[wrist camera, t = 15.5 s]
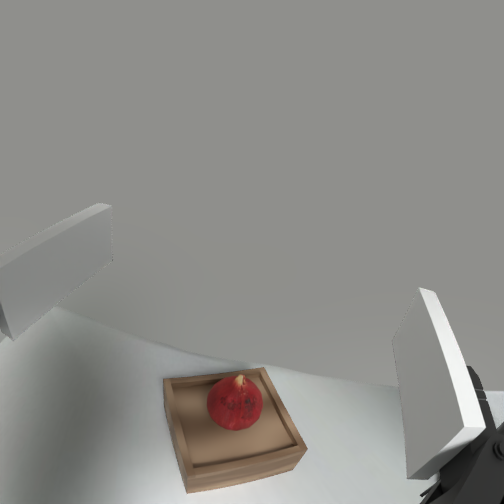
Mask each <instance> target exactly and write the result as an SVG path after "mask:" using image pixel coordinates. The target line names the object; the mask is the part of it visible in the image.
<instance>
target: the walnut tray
mask: <svg viewBox="0 0 504 504" xmlns="http://www.w3.org/2000/svg"><path fill="white" fill-rule="evenodd" d="M239 374H242V375H245V378H248V379H250V380H251V381H252V382H253V383H255V384H256V385H257V387H258V388H259V390H260V391H261V394H262V399H263V408H262V412H261V414H260V417H259V419H258V420H257V421H256V422H255V423H254V424H253V425H252V426H250V427H249V428H246V429H242V430H238V431H233V430H227V429H225V428H223V427H221V426H219V425H218V424H217V423H216V422H215V421H214V420H213V419H212V418H211V417H210V415H209V412H208V409H207V396H208V393H209V392H210V390H211V389H212V387H213V386H214V385H215V384H216V383H217V382H219V381H220V380H222V379H224V378H226V377H231V376H239ZM163 389H164V408H165V412H166V417H167V421H168V426H169V430H170V434H171V438H172V442H173V446H174V450H175V454H176V458H177V461H178V465H179V469H180V472H181V476H182V479H183V482H184V486H185V489H186V492H187V494H188V493H195V492H201V491H207V490H213V489H218V488H223V487H228V486H233V485H238V484H242V483H246V482H251V481H255V480H259V479H263V478H266V477H270V476H274V475H277V474H281V473H284V472H287V471H291V470H293V469H294V467H295V466H296V465H297V463H298V462H299V461H300V459H301V458H302V456H303V455H304V454H305V452H306V451H307V449H308V448H307V447H306V445H305V443H304V441H303V439H302V438H301V436H300V434H299V432H298V430H297V428H296V427H295V425H294V423H293V421H292V419H291V417H290V415H289V414H288V412H287V410H286V408H285V406H284V404H283V402H282V401H281V399H280V397H279V395H278V393H277V391H276V389H275V387H274V385H273V383H272V382H271V380H270V378H269V376H268V374H267V372H266V370H265V368H264V367H262V368H256V369H249V370H242V371H235V372H227V373H219V374H211V375H202V376H192V377H181V378H169V379H163Z"/></svg>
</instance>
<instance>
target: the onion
mask: <svg viewBox="0 0 504 504" xmlns="http://www.w3.org/2000/svg"><path fill="white" fill-rule="evenodd" d="M262 408H263V399H262V394H261V391H260V390H259V388H258V387H257V385H256V384H255V383H253V382H252V381H251V380H250V379H248V378H245V375H242V374H239V376H231V377H226V378H224V379H222V380H220V381H219V382H217V383H216V384H215V385H214V386H213V387H212V389H211V390H210V392H209V393H208V396H207V409H208V412H209V415H210V417H211V418H212V419H213V420H214V421H215V422H216V423H217V424H218V425H219V426H221V427H223V428H225V429H227V430H233V431H238V430H242V429H246V428H249V427H250V426H252V425H253V424H254V423H255V422H256V421H257V420H258V419H259V417H260V414H261V412H262Z"/></svg>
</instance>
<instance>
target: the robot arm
mask: <svg viewBox="0 0 504 504" xmlns="http://www.w3.org/2000/svg"><path fill="white" fill-rule="evenodd" d="M112 255H113V254H112V206H110V205H106V204H102V203H97V204H95V205H93V206H91V207H89V208H87V209H85V210H83V211H80V212H78V213H76V214H74V215H72V216H70V217H68V218H66V219H64V220H62V221H60V222H58V223H57V224H54V225H52V226H51V227H49V228H47V229H45V230H43V231H41V232H39V233H37V234H35V235H33V236H32V237H30V238H28V239H26V240H24V241H23V242H21V243H19V244H17V245H15V246H14V247H12V248H10V249H8V250H7V251H5V252H3V253H2V254H0V329H1V331H2V333H4V334H5V335H6V336H7V337H9V338H10V339H11V340H13V341H14V340H15V339H16V338H18V337H19V336H20V335H21V334H22V333H23V332H25V331H26V330H27V329H28V328H29V327H30V326H31V325H33V324H34V323H35V322H36V321H37V320H39V319H40V318H41V317H42V316H43V315H45V314H46V313H47V312H48V311H49V310H51V309H52V308H53V307H54V306H55V305H57V304H58V303H59V302H60V301H62V300H63V299H64V298H65V297H67V296H68V295H69V294H70V293H72V292H73V291H74V290H75V289H77V288H78V287H79V286H80V285H82V284H83V283H84V282H86V281H87V280H88V279H89V278H91V277H92V276H93V275H95V274H96V273H97V272H99V271H100V270H101V269H102V268H104V267H105V266H106V265H108V264H109V263H110V262H112V261H113V256H112ZM392 344H393V350H394V356H395V363H396V369H397V376H398V382H399V390H400V398H401V407H402V416H403V426H404V438H405V451H406V469H407V479H418V480H428V479H429V478H430V477H432V476H433V475H434V474H435V473H437V472H438V471H439V470H440V478H441V479H440V480H439V481H438V482H437V483H435V484H434V485H433V486H431V487H430V488H428V489H427V490H426V491H424V492H423V493H422V494H421V495H420V496H421V497H423V496H424V495H426V494H427V493H428V494H427V495H426V496H425V498H424V499H423V500H422V502H421V503H420V504H504V422H503V423H502V424H501V425H500V426H499V427H498V428H497V429H496V427H495V423H494V420H493V417H492V414H491V410H490V407H489V404H488V401H486V399H487V398H486V395H485V393H484V391H483V387H482V384H481V382H480V379H479V377H478V375H477V374H476V373H475V371H474V370H473V369H472V367H471V366H466V365H465V362H464V359H463V357H462V354H461V352H460V349H459V346H458V344H457V341H456V339H455V336H454V334H453V332H452V330H451V327H450V325H449V322H448V320H447V318H446V316H445V313H444V311H443V309H442V307H441V305H440V302H439V300H438V298H437V296H436V294H435V292H433V291H429V290H425V289H422V288H418V290H417V292H416V294H415V296H414V299H413V301H412V303H411V305H410V307H409V309H408V311H407V313H406V315H405V317H404V319H403V321H402V323H401V325H400V327H399V329H398V331H397V333H396V334H395V336H394V338H393V340H392Z"/></svg>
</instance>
